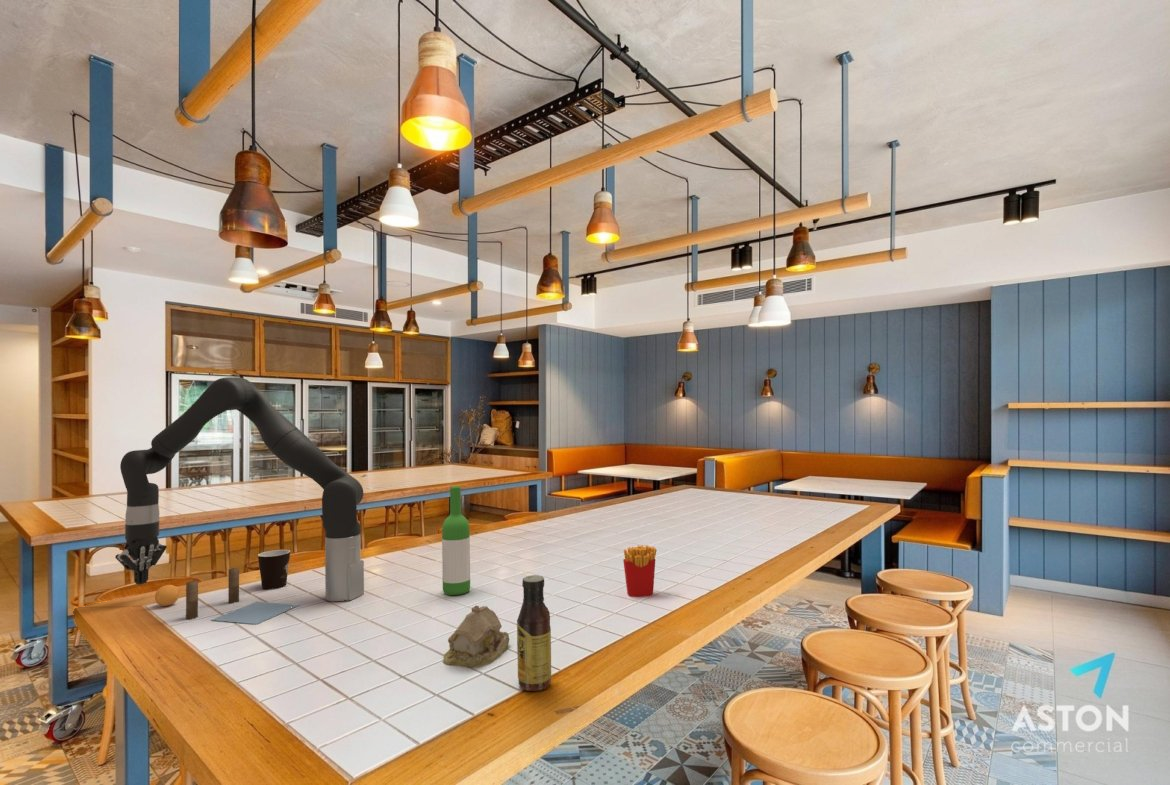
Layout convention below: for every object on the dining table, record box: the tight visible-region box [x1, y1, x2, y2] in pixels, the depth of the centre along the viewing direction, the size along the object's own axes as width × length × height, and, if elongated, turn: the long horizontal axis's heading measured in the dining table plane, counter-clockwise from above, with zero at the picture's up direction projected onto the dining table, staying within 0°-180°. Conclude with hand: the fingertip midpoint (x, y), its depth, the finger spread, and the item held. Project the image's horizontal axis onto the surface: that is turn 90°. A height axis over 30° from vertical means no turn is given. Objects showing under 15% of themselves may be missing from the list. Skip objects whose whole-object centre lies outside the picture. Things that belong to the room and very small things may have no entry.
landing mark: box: [211, 601, 299, 625], centre depth 147 cm, size 14×14×1 cm
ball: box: [154, 584, 180, 607], centre depth 154 cm, size 6×6×6 cm
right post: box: [227, 567, 240, 604], centre depth 156 cm, size 2×2×9 cm
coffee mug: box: [257, 549, 291, 591], centre depth 172 cm, size 12×9×10 cm
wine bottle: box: [441, 485, 471, 596], centre depth 161 cm, size 8×8×30 cm
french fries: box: [622, 544, 657, 598], centre depth 156 cm, size 9×4×13 cm, turn 100°
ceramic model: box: [442, 605, 510, 668], centre depth 119 cm, size 14×11×10 cm
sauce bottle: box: [516, 574, 552, 692], centre depth 104 cm, size 6×6×20 cm
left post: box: [185, 580, 199, 620], centre depth 144 cm, size 2×2×9 cm
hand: (141, 583), depth 157 cm, fingers closed
